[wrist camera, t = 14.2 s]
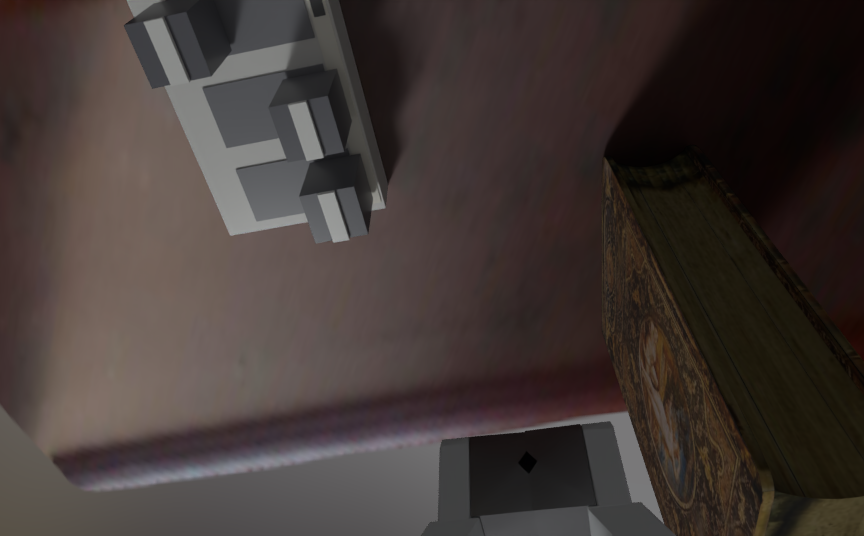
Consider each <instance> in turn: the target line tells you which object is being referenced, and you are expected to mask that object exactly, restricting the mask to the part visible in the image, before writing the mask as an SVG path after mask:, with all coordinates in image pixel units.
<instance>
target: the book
mask: <svg viewBox="0 0 864 536" xmlns="http://www.w3.org/2000/svg"><path fill="white" fill-rule="evenodd" d="M602 333H603V336H604V339H605V342H606V345H607V348H608V351H609V354H610V357H611V360H612V364H613V367H614V370H615V373H616V376H617V379H618V382H619V385H620V388H621V391H622V394H623V397H624V401H625V404H626V407H627V410H628V413H629V416H630V419H631V422H632V425H633V428H634V431H635V434H636V437H637V440H638V444H639V447H640V450H641V453H642V456H643V459H644V462H645V465H646V468H647V471H648V474H649V477H650V481H651V484H652V487H653V490H654V493H655V496H656V499H657V502H658V505H659V508H660V511H661V515H662V518H663V521H664V524H665V526H666V527H668V528H669V529H670V530H671V531H672V532H673V533H674V534H675V535H676V536H864V361H863V360H862V359H861V357H860V356H859V355H858V353H857V352H856V351H855V350H854V348H853V347H852V346H851V344H850V343H849V342H848V340H847V339H846V338H845V337H844V335H843V334H842V333H841V331H840V330H839V329H838V327H837V326H836V325H835V324H834V322H833V321H832V320H831V318H830V317H829V316H828V314H827V313H826V312H825V311H824V309H823V308H822V307H821V305H820V304H819V303H818V301H817V300H816V299H815V297H814V296H813V295H812V294H811V292H810V291H809V290H808V288H807V287H806V286H805V284H804V283H803V282H802V281H801V279H800V278H799V277H798V275H797V274H796V273H795V271H794V270H793V269H792V268H791V266H790V265H789V264H788V262H787V261H786V260H785V258H784V257H783V256H782V255H781V253H780V252H779V251H778V249H777V248H776V247H775V245H774V244H773V243H772V242H771V240H770V239H769V238H768V236H767V235H766V234H765V232H764V231H763V230H762V228H761V227H760V226H759V225H758V223H757V222H756V221H755V219H754V218H753V217H752V215H751V214H750V213H749V212H748V210H747V209H746V208H745V206H744V205H743V204H742V202H741V201H740V200H739V199H738V197H737V196H736V195H735V193H734V192H733V191H732V189H731V188H730V187H729V186H728V184H727V183H726V182H725V180H724V179H723V178H722V176H721V175H720V174H719V172H718V171H717V170H716V169H715V167H714V166H713V165H712V163H711V162H710V161H709V160H708V158H707V157H706V156H705V154H704V153H703V152H702V151H701V149H699V148H698V147H697V146H696V145H690V146H686V147H685V150H684V151H683V152H681V153H680V154H679V155H677V156H676V157H674V158H673V159H671V160H669V161H667V162H665V163H662V164H659V165H655V166H649V167H632V166H626V165H621V164H618V163H615V161H614V160H613V158H612V157H611V156H607V157H603V160H602Z"/></svg>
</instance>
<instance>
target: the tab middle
mask: <svg viewBox="0 0 864 536" xmlns="http://www.w3.org/2000/svg"><path fill="white" fill-rule="evenodd" d="M268 109H269V111H270V114H271V117H272V120H273V123H274V125H275V128H276V131H277V134H278V137H279V139H280V142H281V145H282V148H283V151H284V154H285V156H286V159H287V162H288V163H289V162H294V161H299V160H305V159H306V160H307V161H310V160H315V159H321V158H324V156H326V155H331V154H336V153H342V152H345V148H346V143H347V139H348V135H349V131H350V127H351V123H352V119H351V116H350V112H349V109H348V105H347V102H346V98H345V95H344V91H343V88H342V84H341V81H340V77H339V74H338V70H337V69H332V70H327V71H322V72H317V73H312V74H307V75H303V76H298V77H293V78H288V79H283V80H282V82H281V84H280V86H279V88H278V90H277V92H276V94H275V96H274V97H273V99H272V101H271V103H270V105H269V107H268Z"/></svg>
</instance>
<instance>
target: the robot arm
mask: <svg viewBox="0 0 864 536" xmlns="http://www.w3.org/2000/svg"><path fill="white" fill-rule="evenodd" d="M438 502H439V503H438V521H437V522H430V523H429V524H428V526H427V527H426V529H425V530H424V532H423V533H422V535H421V536H676V535H675V534H674V533H673V532H672V531H671V530H670V529H669V528H668V527H666V526H665V525H664V524H663V523H662V522H661V521H660V520H659V519H658V518H657V517H656V516H655V515H654V514H653V513H652V512H651V511H650V510H649V509H647V508H646V507H645V506H644V505H643V504H642V503H641V502H640V503H639V502H638V503H632V501H631V497H630V493H629V489H628V485H627V481H626V477H625V473H624V469H623V464H622V460H621V456H620V452H619V448H618V444H617V440H616V436H615V432H614V428H613V425H612V424H611V422H600V423H591V424H582V425H580V424H577V425H570V426H562V427H554V428H546V429H538V430H530V431H525V432H521V433H509V434H498V435H486V436H475V437H465V438H456V439H446V440H442V442H441V446H440V462H439V500H438Z"/></svg>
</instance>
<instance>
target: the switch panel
mask: <svg viewBox="0 0 864 536" xmlns="http://www.w3.org/2000/svg"><path fill="white" fill-rule="evenodd" d="M162 1H167V0H127V2H128V5H129V7H130V9H131V11H132V14H133V16H134V17H136V16H137V15H138V14H140V13H141V12H143V11H144V10H145V9H147V8H148V7H149V6H151V5H152V4H153V3H158V2H162ZM214 3H215V6H216V9H217V11H218V14H219V17H220V19H221V22H222V25H223V27H224V30H225V33H226V36H227V38H228V41H229V44H230V46H231V49H232V51H231V52H230V54H229V55H228V56H227V57H226V59H225V60H224V61H223V63H222V64H221V65H220V66H219V68H218V69H217V70H216V71H215V73H214V74H213V75H212V76H211V77H206V78H201V79H197V80H192V81H190V82H189V83H184V84H180V85H175V86H171V85H167V86H165V88H166V91H167V93H168V95H169V98H170V100H171V102H172V104H173V107H174V109H175V111H176V113H177V116H178V118H179V120H180V123H181V125H182V127H183V129H184V132H185V134H186V136H187V138H188V141H189V143H190V145H191V147H192V150H193V152H194V154H195V157H196V159H197V161H198V163H199V166H200V168H201V170H202V172H203V175H204V177H205V179H206V181H207V184H208V186H209V188H210V191H211V193H212V195H213V197H214V200H215V202H216V204H217V206H218V209H219V211H220V213H221V215H222V218H223V220H224V222H225V225H226V227H227V229H228V231H229V234H230V236H231V235H237V234H243V233H248V232H254V231H259V230H265V229H271V228H276V227H282V226H288V225H293V224H299V223H305V222H308V221H307V218H306V215H305V212H304V209H303V207H302V204H301V201H300V198H299V195H300V192H301V189H302V186H303V183H304V180H305V177H306V173H307V170H308V167H309V164H310V163H312V162H318V161H323V160H328V159H334V158H339V157H344V156H350V155H355V154H361V158H362V161H363V165H364V168H365V172H366V175H367V179H368V182H369V186H370V189H371V193H372V196H373V204H372V210H378V209H383V208H386V200H387V191H388V182H387V179H386V175H385V171H384V168H383V164H382V160H381V156H380V153H379V149H378V145H377V141H376V138H375V134H374V130H373V126H372V123H371V119H370V115H369V111H368V108H367V104H366V100H365V97H364V93H363V89H362V85H361V82H360V78H359V74H358V70H357V67H356V63H355V59H354V55H353V52H352V48H351V44H350V40H349V37H348V33H347V29H346V26H345V22H344V18H343V14H342V11H341V7H340V3H339V0H214ZM332 69H337V70H338V74H339V77H340V81H341V84H342V88H343V91H344V95H345V98H346V102H347V105H348V109H349V112H350V116H351V119H352V123H351V127H350V131H349V135H348V139H347V143H346V148H345V152H342V153H336V154H331V155H326V156H324V158H321V159H315V160H310V161H307V160H306V159H305V160H299V161H294V162H289V163H288V162H287V159H286V156H285V154H284V151H283V148H282V145H281V142H280V139H279V137H278V134H277V131H276V128H275V125H274V123H273V120H272V117H271V114H270V111H269V109H268V107H269V105H270V103H271V101H272V99H273V97H274V96H275V94H276V92H277V90H278V88H279V86H280V84H281V82H282V80H283V79H288V78H293V77H298V76H303V75H307V74H312V73H317V72H322V71H327V70H332Z"/></svg>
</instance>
